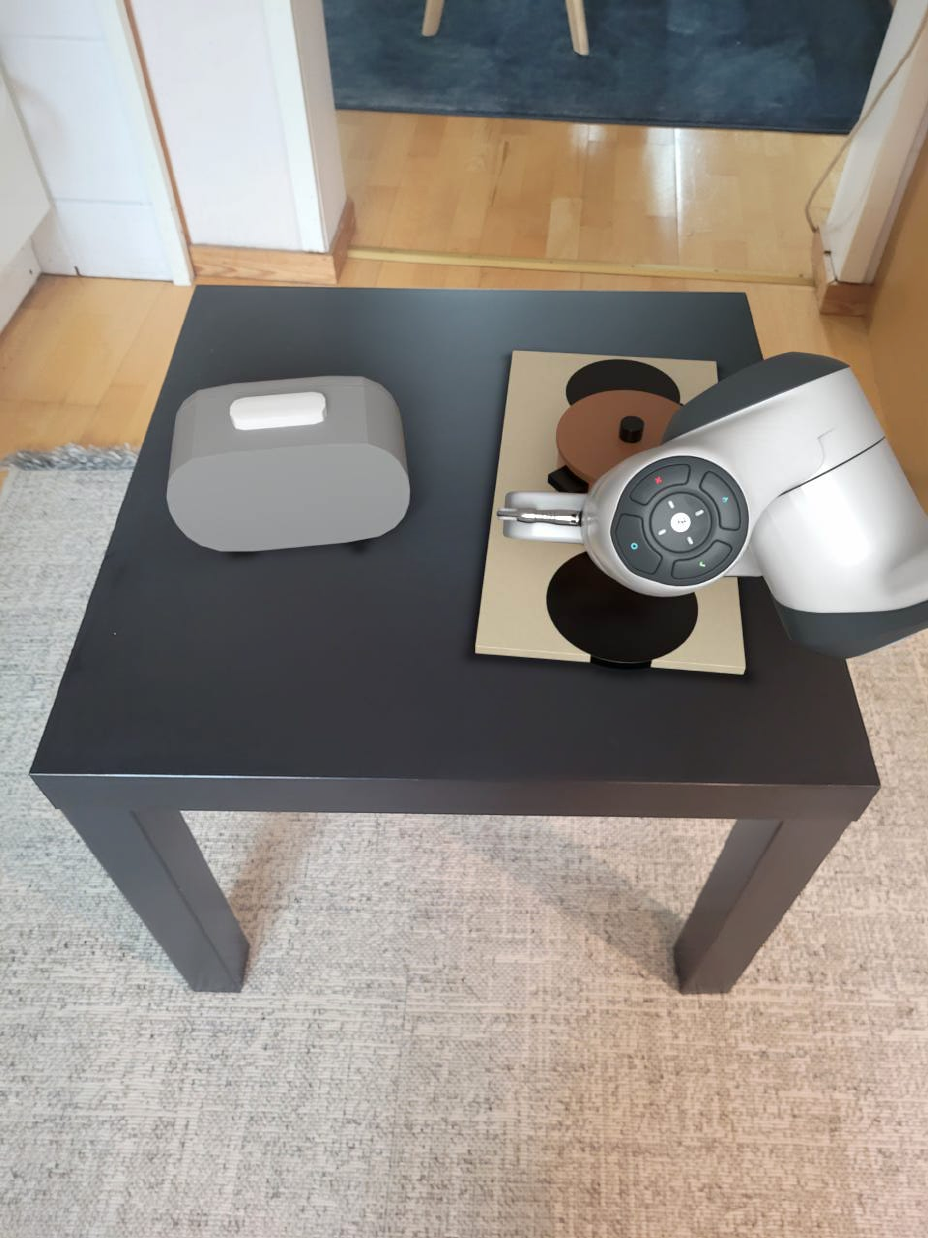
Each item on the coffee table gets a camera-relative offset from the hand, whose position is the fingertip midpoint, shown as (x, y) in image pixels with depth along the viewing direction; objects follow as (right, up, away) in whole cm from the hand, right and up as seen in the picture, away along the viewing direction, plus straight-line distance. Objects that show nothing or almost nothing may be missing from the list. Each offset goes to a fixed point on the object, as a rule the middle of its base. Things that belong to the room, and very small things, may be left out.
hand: (625, 523), depth 78 cm
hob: (+1, +4, +12) cm, 12 cm away
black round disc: (0, -7, +2) cm, 8 cm away
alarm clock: (-29, +2, +10) cm, 31 cm away
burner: (+3, +15, +20) cm, 25 cm away
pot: (+1, +2, +8) cm, 9 cm away
